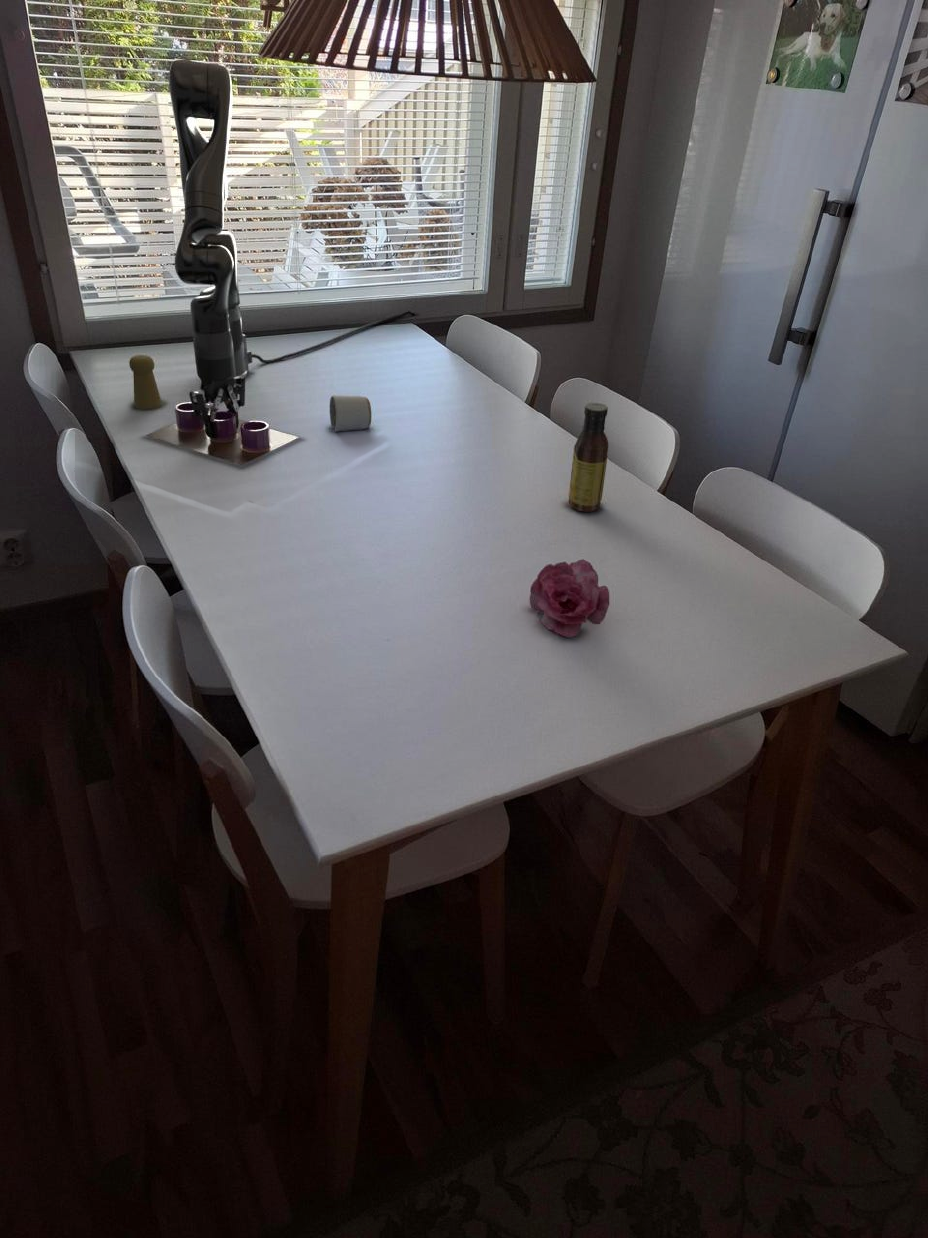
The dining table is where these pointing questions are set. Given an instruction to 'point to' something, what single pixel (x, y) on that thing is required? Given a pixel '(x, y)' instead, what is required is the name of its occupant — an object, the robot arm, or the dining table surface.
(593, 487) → the sauce bottle
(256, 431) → the plum dish
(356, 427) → the ceramic mug
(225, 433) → the plum dish
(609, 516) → the dining table surface
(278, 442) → the metal board
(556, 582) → the flower
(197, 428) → the plum dish
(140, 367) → the yellow pawn figure
